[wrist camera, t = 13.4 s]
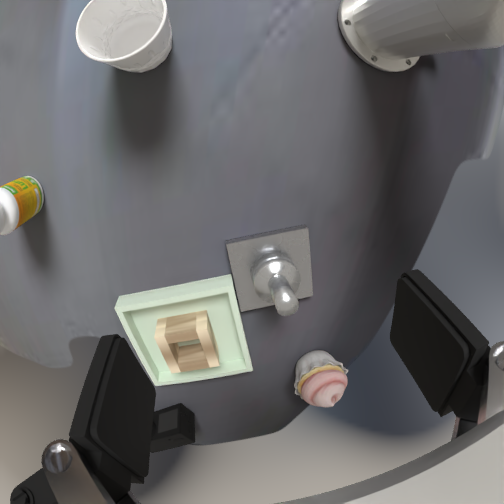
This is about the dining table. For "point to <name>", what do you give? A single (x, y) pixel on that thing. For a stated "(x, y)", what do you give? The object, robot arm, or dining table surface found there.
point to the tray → (182, 302)
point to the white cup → (125, 33)
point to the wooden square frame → (185, 330)
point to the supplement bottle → (19, 203)
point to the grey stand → (272, 269)
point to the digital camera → (172, 428)
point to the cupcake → (320, 379)
